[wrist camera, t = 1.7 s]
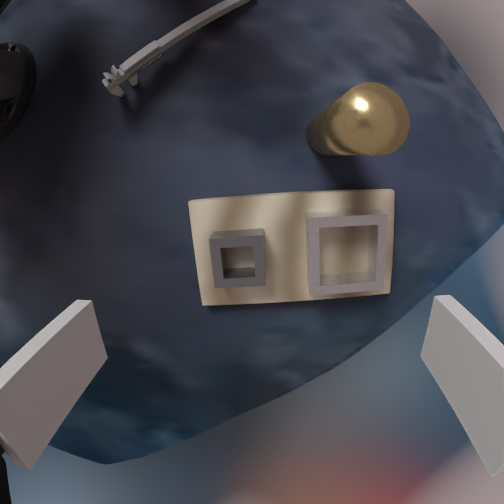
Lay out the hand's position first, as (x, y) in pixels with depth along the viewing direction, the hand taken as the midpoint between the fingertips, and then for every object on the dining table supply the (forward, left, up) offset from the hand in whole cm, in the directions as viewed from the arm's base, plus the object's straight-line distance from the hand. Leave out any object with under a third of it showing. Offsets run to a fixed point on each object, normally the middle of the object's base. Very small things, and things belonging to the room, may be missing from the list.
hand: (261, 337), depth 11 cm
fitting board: (+4, +3, -24) cm, 24 cm away
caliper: (-21, -7, -25) cm, 33 cm away
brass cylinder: (-8, +7, -24) cm, 26 cm away
